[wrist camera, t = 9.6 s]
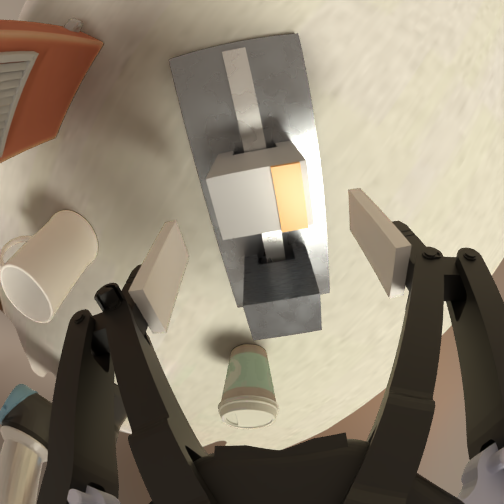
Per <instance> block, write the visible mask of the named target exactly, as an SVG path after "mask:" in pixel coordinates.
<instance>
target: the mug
mask: <svg viewBox="0 0 504 504" xmlns="http://www.w3.org/2000/svg"><path fill="white" fill-rule="evenodd" d="M21 242H26V243H25V244H24V245H23V246H22V247H21V248H20V249H19V250H18V251H17V252H16V253H15V254H14V255H13V256H12V257H11V258H10V259H9V260H8V261H7V263H6V264H4V262H3V255H4V253H5V252H6V250H7V249H8V248H10V247H11V246H13V245H15V244H17V243H21ZM97 252H98V241H97V237H96V235H95V232H94V230H93V228H92V227H91V225H90V224H89V223H88V222H87V221H86V219H84V218H83V217H82V216H81V215H79V214H78V213H76V212H73V211H69V210H62V211H59V212H57V213H55V214H54V215H53V216H52V217H51V219H50V221H49V222H48V223H46V224H45V225H44V226H43V227H42V228H41V229H40V230H39V231H38V232H37V233H36V234H35V235H33V236H21V237H17V238H15V239H12V240H11V241H9V242H8V243H7V244H5V246H4V247H3V248H2V250H1V251H0V270H1V271H0V281H1V285H2V287H3V290H4V292H5V294H6V296H7V297H8V299H9V300H10V302H11V303H12V304H13V305H14V306H15V308H16V309H17V310H18V311H20V312H21V313H22V314H23V315H24V316H26V317H27V318H29V319H31V320H33V321H35V322H38V323H47V322H49V321H51V319H52V318H53V316H54V315H55V313H56V311H57V310H58V308H59V307H60V305H61V304H62V302H63V301H64V299H65V297H66V296H67V294H68V293H69V292H70V290H71V289H72V287H73V286H74V284H75V283H76V281H77V280H78V278H79V277H80V276H81V274H82V273H83V271H84V270H85V269H86V267H87V266H88V265H89V264H91V263H92V262H93V261H94V259H95V258H96V256H97Z"/></svg>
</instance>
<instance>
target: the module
mask: <svg viewBox="0 0 504 504" xmlns="http://www.w3.org/2000/svg"><path fill="white" fill-rule="evenodd" d="M275 144H276V147H274V148H268V149H262V150H257V151H252V152H246V153H241V154H236V155H234V151H230V152H226V153H221V154H218V156H217V158H216V160H215V161H214V163H213V165H212V167H211V169H210V171H209V173H208V175H207V177H206V182H207V186H208V189H209V193H210V196H211V200H212V204H213V207H214V211H215V214H216V218H217V221H218V225H219V228H220V232H221V235H222V239H223V240H227V239H233V238H238V237H244V236H250V235H255V234H261V233H267V232H273V231H278V230H282V232H288V231H294V230H300V229H306V228H309V227H308V225H314V219H313V209H312V200H311V192H310V184H309V176H308V169H307V161H306V159H305V158H304V157H303V155H302V154H301V153H300V151H299V150H298V149H297V148H296V146H295V145H294V144H293V143H292V141H285V142H278V143H275Z"/></svg>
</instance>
